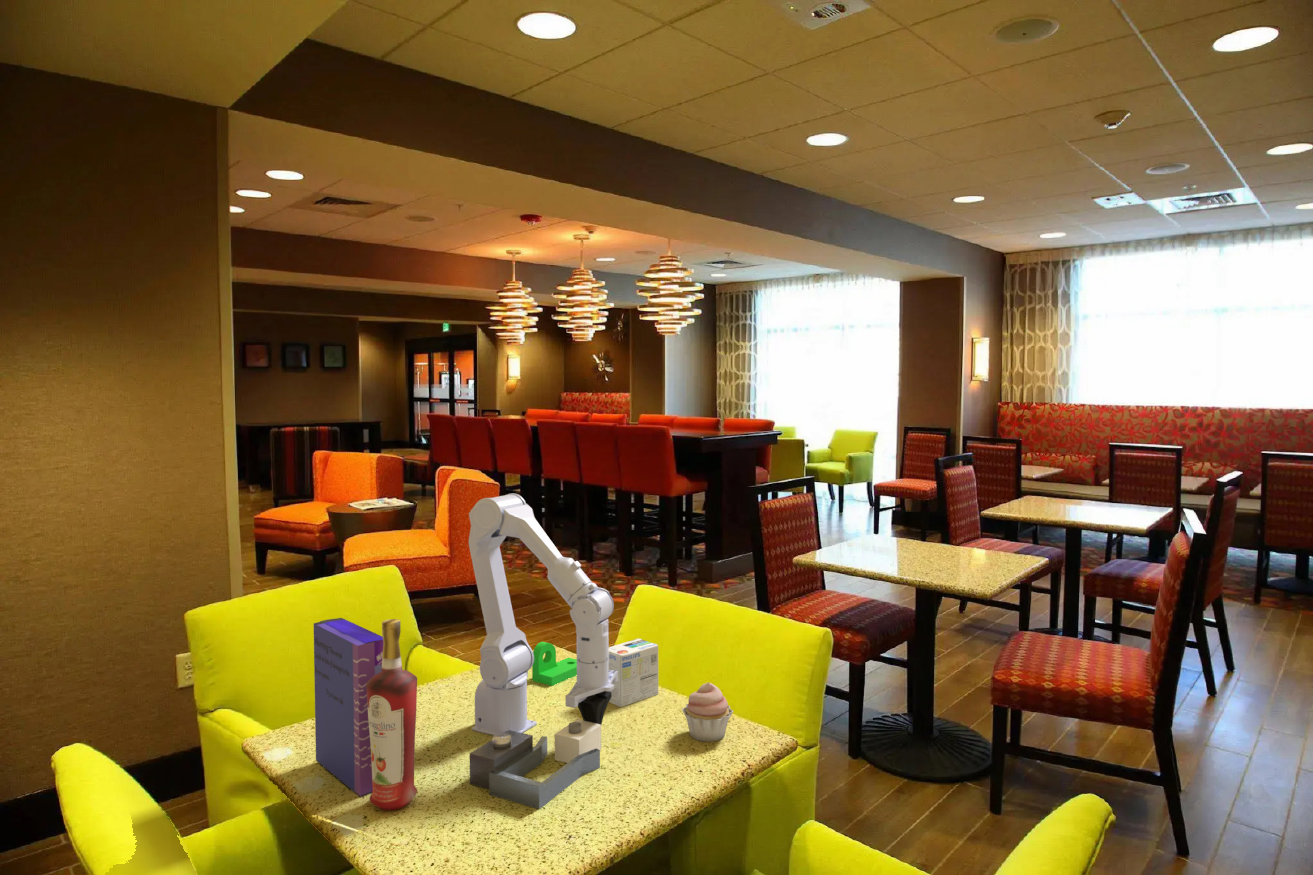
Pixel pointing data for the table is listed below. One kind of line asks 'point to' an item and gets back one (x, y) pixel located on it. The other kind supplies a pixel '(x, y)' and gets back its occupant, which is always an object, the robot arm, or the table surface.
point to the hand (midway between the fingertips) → (593, 733)
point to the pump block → (577, 740)
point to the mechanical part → (551, 665)
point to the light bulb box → (634, 671)
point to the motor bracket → (524, 769)
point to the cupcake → (707, 713)
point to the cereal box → (345, 699)
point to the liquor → (392, 725)
